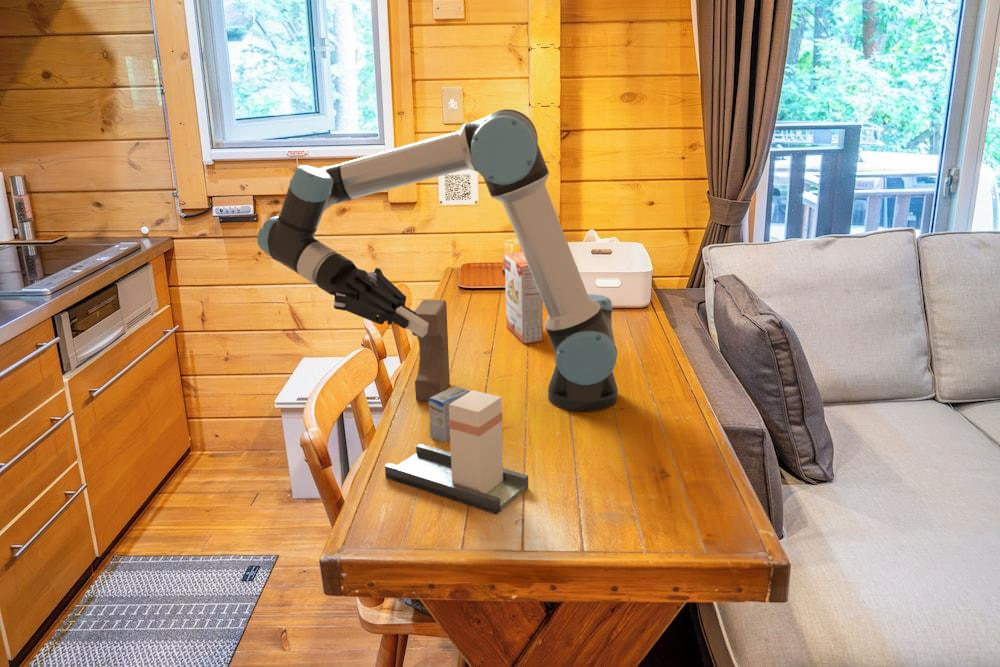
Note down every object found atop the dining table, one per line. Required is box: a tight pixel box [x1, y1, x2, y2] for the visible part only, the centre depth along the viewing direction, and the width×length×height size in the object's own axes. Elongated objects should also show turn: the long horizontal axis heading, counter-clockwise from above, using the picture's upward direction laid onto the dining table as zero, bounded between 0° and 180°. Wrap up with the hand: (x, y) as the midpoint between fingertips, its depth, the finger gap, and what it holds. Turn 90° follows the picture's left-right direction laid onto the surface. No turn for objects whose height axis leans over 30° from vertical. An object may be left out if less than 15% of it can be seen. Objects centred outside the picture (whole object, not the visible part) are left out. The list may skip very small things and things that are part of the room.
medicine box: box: [428, 385, 471, 443], centre depth 170 cm, size 8×4×9 cm, turn 141°
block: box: [449, 389, 504, 494], centre depth 147 cm, size 6×7×16 cm
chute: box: [384, 443, 529, 515], centre depth 152 cm, size 24×10×2 cm, turn 57°
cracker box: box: [504, 251, 544, 345], centre depth 223 cm, size 14×6×21 cm, turn 17°
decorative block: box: [411, 299, 451, 402], centre depth 188 cm, size 11×6×20 cm, turn 171°
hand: (425, 330), depth 156 cm, fingers closed
